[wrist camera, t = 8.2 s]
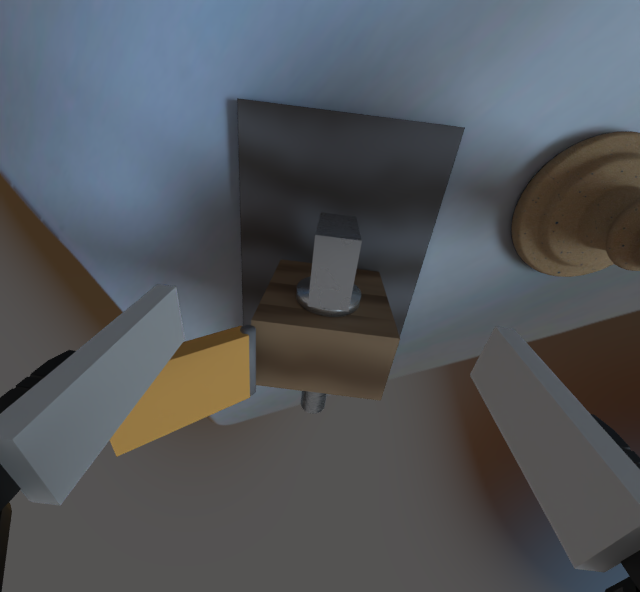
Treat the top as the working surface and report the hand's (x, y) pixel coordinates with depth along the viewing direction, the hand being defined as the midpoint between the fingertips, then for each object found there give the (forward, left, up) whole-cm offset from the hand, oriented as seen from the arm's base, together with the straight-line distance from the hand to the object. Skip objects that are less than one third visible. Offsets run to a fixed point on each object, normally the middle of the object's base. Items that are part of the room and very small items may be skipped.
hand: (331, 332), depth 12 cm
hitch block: (+3, 0, -18) cm, 18 cm away
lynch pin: (+7, 0, -13) cm, 14 cm away
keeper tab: (+7, -8, -3) cm, 11 cm away
